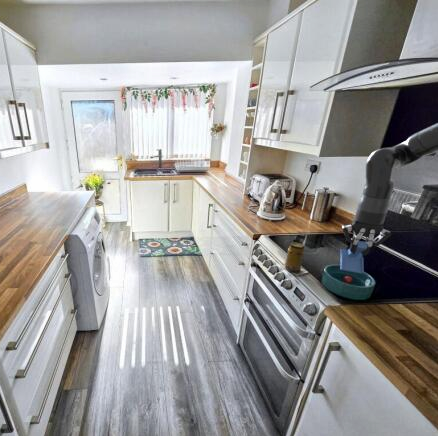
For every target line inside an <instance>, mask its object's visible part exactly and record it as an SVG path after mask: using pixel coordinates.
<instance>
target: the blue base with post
mask: <svg viewBox="0 0 438 436" xmlns="http://www.w3.org/2000/svg"><path fill="white" fill-rule="evenodd" d="M365 249H367V242H365V241H361V240H359V242H358V244H357V249H356V252H355V254H352V253H351V251H350V248H348V249H343V248H340V263H339V265H340V270H344V271H349V272H355V273H361V274H362V273H363V272H365V270H364V269H365V268H364V257H363V255H362V253H361V252H363V251H364V250H365Z"/></svg>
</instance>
